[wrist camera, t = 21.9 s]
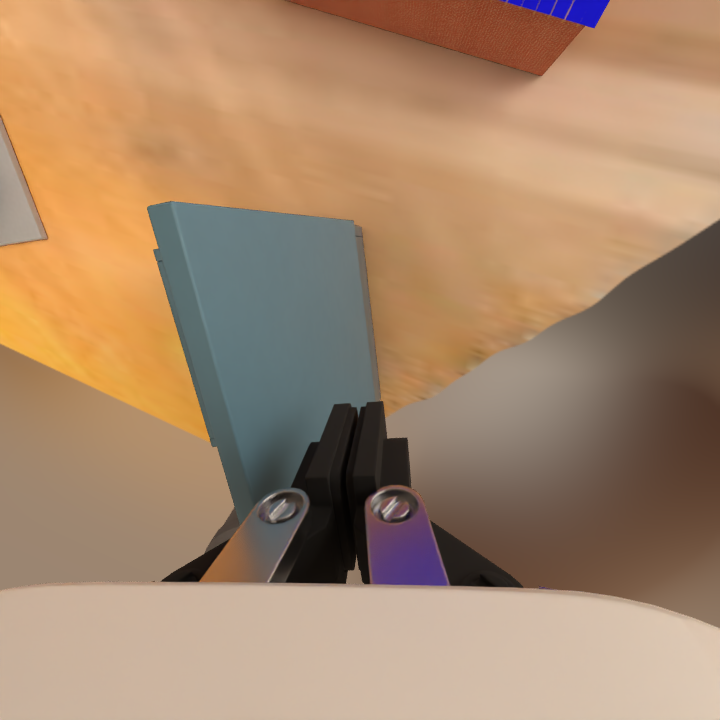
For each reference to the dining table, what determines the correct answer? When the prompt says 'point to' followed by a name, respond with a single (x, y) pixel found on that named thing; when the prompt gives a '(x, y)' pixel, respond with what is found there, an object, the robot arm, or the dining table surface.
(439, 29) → the house
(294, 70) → the dining table surface
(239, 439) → the chest lid
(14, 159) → the mat
